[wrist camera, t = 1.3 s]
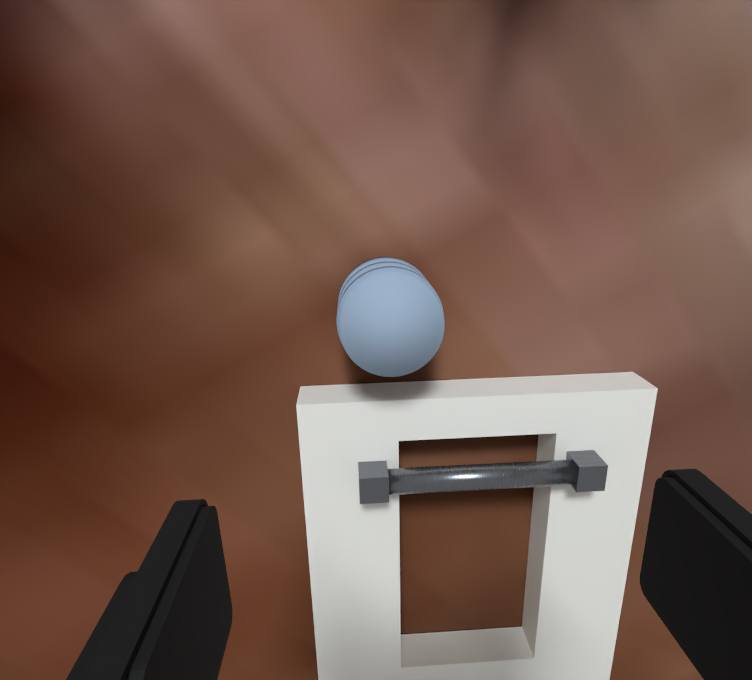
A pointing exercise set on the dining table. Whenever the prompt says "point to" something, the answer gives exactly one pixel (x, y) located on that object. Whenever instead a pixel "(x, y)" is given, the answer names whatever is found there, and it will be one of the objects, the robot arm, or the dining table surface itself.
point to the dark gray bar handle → (482, 476)
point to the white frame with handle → (547, 531)
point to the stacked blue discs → (389, 317)
